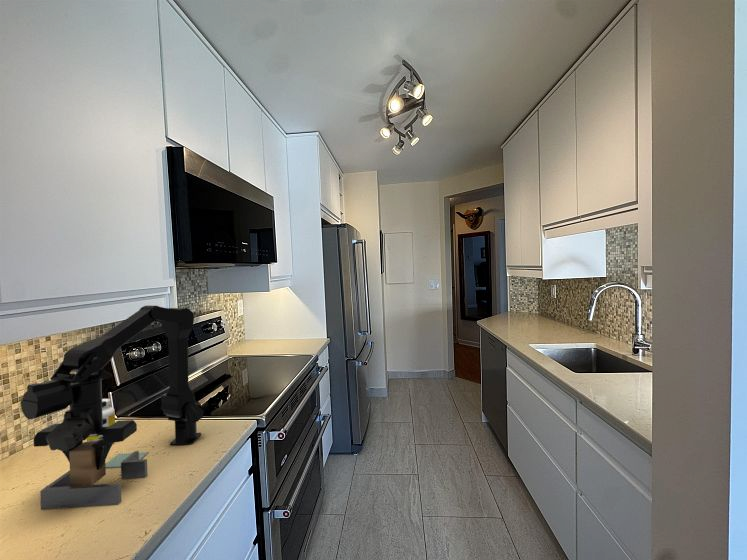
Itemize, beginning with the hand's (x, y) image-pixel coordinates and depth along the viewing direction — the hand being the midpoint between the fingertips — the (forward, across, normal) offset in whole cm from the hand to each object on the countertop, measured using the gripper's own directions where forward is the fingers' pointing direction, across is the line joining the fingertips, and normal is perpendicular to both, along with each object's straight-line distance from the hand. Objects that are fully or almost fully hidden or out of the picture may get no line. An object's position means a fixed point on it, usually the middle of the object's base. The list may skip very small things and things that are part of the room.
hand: (88, 469), depth 79 cm
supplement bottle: (+5, -13, +24) cm, 28 cm away
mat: (+5, 0, +13) cm, 14 cm away
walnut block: (+2, 0, 0) cm, 2 cm away
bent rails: (+5, +2, +2) cm, 6 cm away
